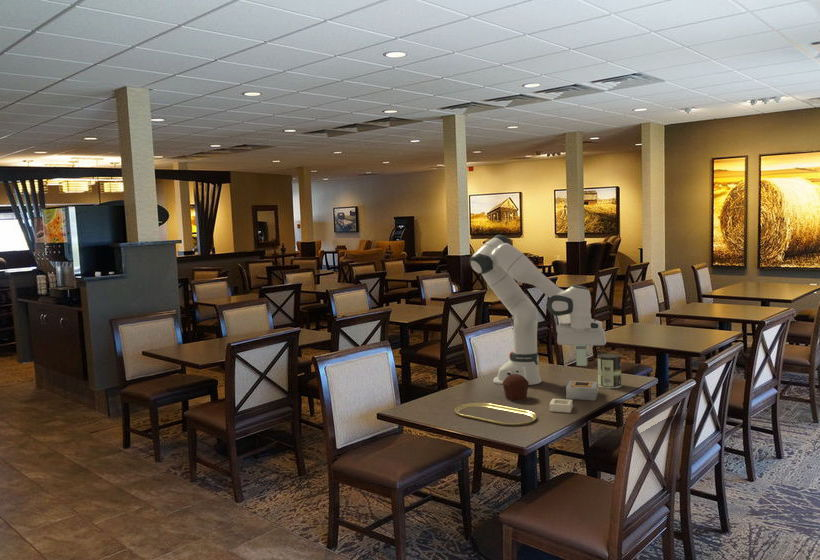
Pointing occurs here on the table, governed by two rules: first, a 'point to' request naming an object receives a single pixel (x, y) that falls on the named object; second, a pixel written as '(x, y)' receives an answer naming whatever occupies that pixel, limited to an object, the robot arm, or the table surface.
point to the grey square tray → (561, 405)
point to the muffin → (515, 387)
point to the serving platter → (496, 408)
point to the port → (582, 390)
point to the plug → (581, 355)
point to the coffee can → (609, 370)
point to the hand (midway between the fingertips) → (581, 355)
